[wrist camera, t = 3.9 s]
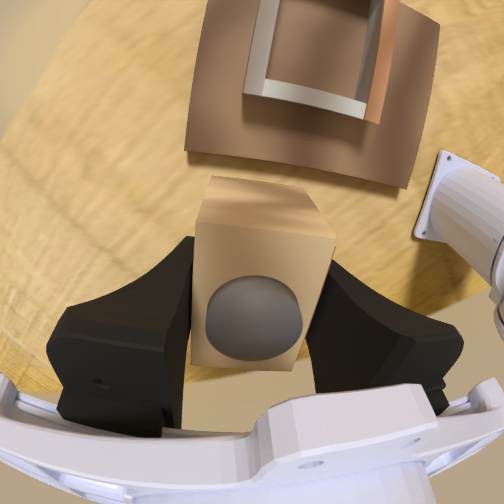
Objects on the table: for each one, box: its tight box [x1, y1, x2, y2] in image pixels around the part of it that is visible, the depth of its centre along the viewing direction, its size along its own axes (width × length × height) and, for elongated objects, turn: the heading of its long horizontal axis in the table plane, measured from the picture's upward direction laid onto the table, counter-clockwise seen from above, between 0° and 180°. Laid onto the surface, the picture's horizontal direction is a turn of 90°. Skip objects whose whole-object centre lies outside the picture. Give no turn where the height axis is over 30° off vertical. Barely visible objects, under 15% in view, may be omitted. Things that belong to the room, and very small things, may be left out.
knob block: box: [191, 176, 337, 371], centre depth 11 cm, size 4×6×6 cm
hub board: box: [184, 0, 440, 190], centre depth 14 cm, size 16×14×3 cm
